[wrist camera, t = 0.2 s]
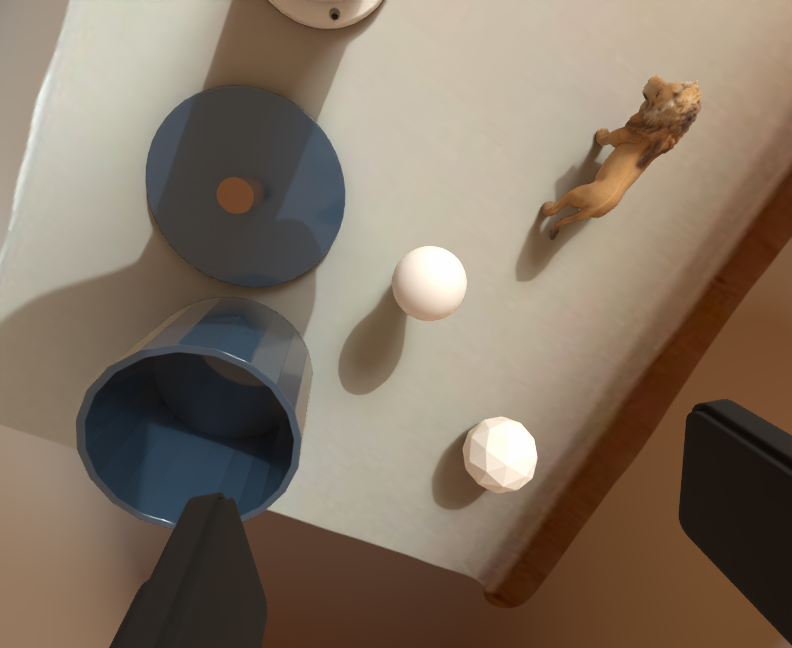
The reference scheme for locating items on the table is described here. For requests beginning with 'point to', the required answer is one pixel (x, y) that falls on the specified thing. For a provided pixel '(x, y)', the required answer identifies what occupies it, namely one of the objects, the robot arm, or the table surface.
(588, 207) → the lion figurine
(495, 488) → the geometric ball
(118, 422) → the dark blue cylindrical pot
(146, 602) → the robot arm
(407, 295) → the lightbulb
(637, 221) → the table surface
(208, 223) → the lid
